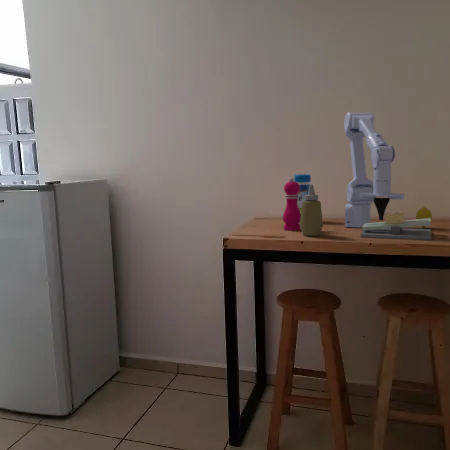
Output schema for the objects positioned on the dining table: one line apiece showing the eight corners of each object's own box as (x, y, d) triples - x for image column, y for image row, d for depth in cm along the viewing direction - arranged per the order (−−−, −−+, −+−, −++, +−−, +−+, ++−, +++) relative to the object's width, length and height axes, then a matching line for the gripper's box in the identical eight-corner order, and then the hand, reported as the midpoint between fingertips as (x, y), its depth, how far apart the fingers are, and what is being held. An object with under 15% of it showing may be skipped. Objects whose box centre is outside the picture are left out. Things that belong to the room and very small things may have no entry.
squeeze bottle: (321, 237, 158) (321, 185, 156) (297, 236, 161) (297, 185, 159) (324, 233, 166) (324, 183, 163) (302, 232, 169) (302, 183, 166)
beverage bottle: (316, 222, 194) (316, 174, 191) (297, 223, 192) (297, 175, 189) (307, 219, 202) (307, 174, 199) (289, 220, 200) (289, 174, 197)
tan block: (385, 227, 159) (384, 214, 158) (386, 224, 163) (385, 212, 163) (404, 225, 156) (402, 212, 156) (404, 223, 161) (403, 211, 160)
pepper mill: (303, 228, 179) (303, 176, 176) (298, 231, 173) (298, 177, 170) (285, 227, 182) (285, 176, 179) (280, 230, 176) (279, 178, 173)
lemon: (433, 229, 168) (434, 207, 167) (417, 229, 169) (417, 208, 168) (429, 227, 173) (430, 206, 172) (414, 227, 174) (414, 206, 173)
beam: (362, 233, 160) (361, 227, 160) (365, 229, 168) (364, 223, 168) (431, 228, 151) (430, 221, 151) (431, 224, 159) (430, 218, 159)
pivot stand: (360, 237, 157) (360, 226, 156) (366, 229, 171) (366, 220, 171) (431, 240, 148) (431, 229, 148) (430, 232, 163) (430, 222, 162)
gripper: (359, 181, 158) (358, 220, 160) (404, 181, 153) (402, 222, 155) (361, 180, 165) (361, 217, 167) (404, 180, 159) (403, 219, 161)
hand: (381, 219), depth 161 cm, fingers closed
